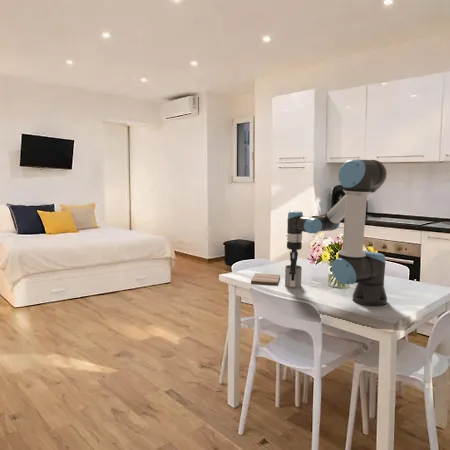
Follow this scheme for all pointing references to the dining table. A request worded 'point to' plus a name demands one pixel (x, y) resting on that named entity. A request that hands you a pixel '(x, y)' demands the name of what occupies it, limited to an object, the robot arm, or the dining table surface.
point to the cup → (298, 276)
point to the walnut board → (265, 279)
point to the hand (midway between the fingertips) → (292, 283)
